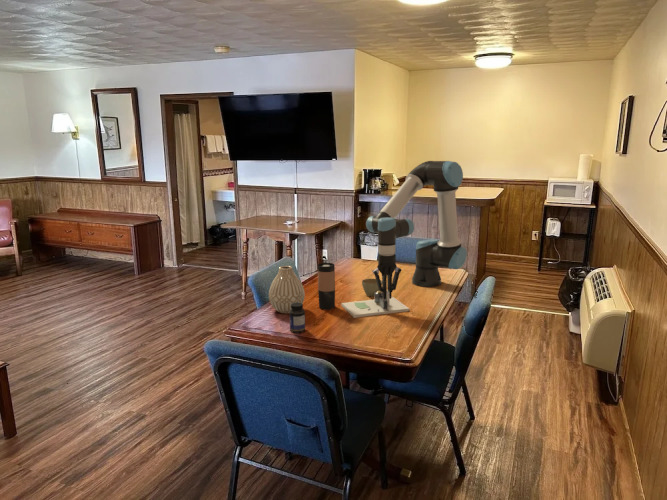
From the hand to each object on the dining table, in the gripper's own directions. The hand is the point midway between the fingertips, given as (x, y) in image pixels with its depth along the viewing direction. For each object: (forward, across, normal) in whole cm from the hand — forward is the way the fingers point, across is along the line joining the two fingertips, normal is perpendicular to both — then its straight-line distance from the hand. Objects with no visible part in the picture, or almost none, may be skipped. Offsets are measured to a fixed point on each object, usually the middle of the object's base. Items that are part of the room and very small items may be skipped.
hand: (387, 305), depth 213 cm
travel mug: (+3, +24, -13) cm, 28 cm away
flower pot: (+3, -1, -24) cm, 25 cm away
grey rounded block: (+1, +1, -4) cm, 4 cm away
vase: (+2, +42, -14) cm, 45 cm away
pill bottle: (+2, +42, +11) cm, 43 cm away
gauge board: (+3, +4, -6) cm, 7 cm away
